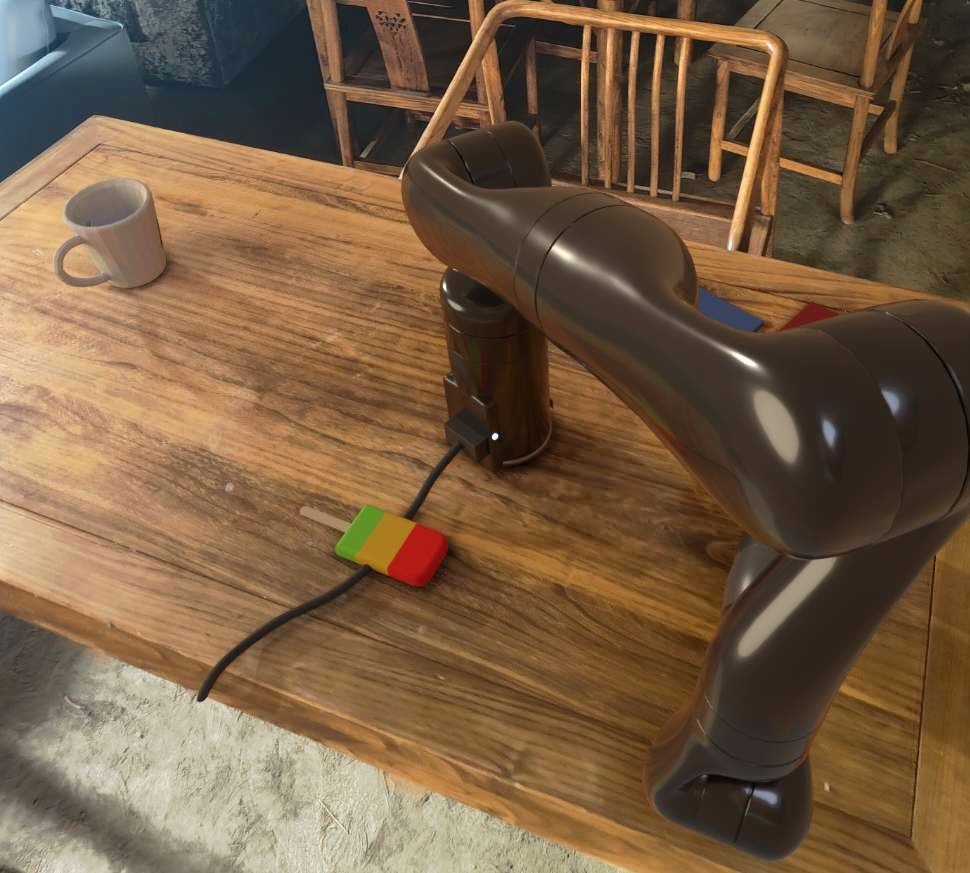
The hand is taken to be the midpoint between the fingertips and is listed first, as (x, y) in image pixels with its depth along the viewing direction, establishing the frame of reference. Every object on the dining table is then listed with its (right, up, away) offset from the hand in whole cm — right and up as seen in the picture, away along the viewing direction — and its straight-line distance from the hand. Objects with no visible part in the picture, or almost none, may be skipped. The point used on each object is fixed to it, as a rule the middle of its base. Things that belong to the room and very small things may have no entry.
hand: (825, 421), depth 79 cm
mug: (-74, +18, +36) cm, 84 cm away
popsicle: (-40, -11, +8) cm, 42 cm away
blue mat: (-7, +11, +23) cm, 26 cm away
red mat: (+7, +7, +19) cm, 21 cm away
